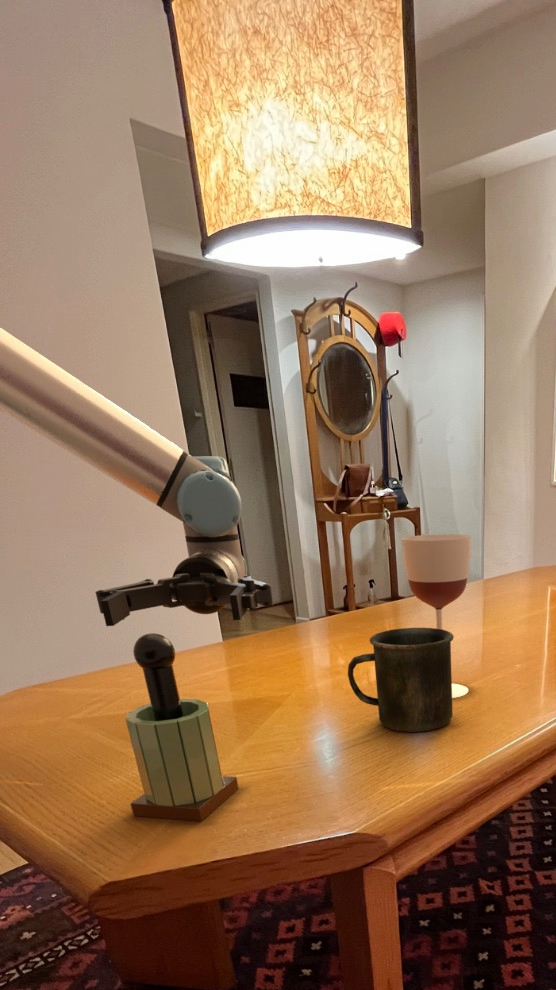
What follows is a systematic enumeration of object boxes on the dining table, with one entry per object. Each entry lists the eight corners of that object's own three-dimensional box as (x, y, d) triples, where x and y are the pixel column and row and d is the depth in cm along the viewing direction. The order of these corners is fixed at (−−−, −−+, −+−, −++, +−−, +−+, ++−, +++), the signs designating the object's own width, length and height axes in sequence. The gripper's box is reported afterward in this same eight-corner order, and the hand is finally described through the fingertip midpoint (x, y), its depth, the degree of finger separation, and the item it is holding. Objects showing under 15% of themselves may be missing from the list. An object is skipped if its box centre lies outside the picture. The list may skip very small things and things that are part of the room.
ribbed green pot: (130, 803, 71) (108, 722, 67) (173, 772, 78) (156, 697, 74) (199, 808, 69) (181, 725, 65) (236, 776, 76) (222, 700, 72)
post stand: (133, 816, 71) (86, 642, 63) (175, 784, 78) (138, 624, 70) (201, 821, 70) (163, 644, 61) (238, 788, 77) (208, 625, 68)
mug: (462, 730, 91) (460, 642, 86) (355, 740, 89) (346, 650, 84) (448, 705, 101) (445, 625, 96) (350, 714, 99) (342, 632, 93)
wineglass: (475, 698, 104) (473, 539, 94) (410, 701, 103) (402, 541, 93) (469, 681, 112) (467, 533, 102) (409, 683, 112) (401, 535, 101)
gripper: (301, 605, 96) (290, 638, 77) (118, 613, 93) (61, 650, 74) (294, 550, 93) (282, 570, 74) (105, 556, 90) (41, 579, 71)
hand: (171, 610), depth 74 cm, fingers open, 13 cm apart
